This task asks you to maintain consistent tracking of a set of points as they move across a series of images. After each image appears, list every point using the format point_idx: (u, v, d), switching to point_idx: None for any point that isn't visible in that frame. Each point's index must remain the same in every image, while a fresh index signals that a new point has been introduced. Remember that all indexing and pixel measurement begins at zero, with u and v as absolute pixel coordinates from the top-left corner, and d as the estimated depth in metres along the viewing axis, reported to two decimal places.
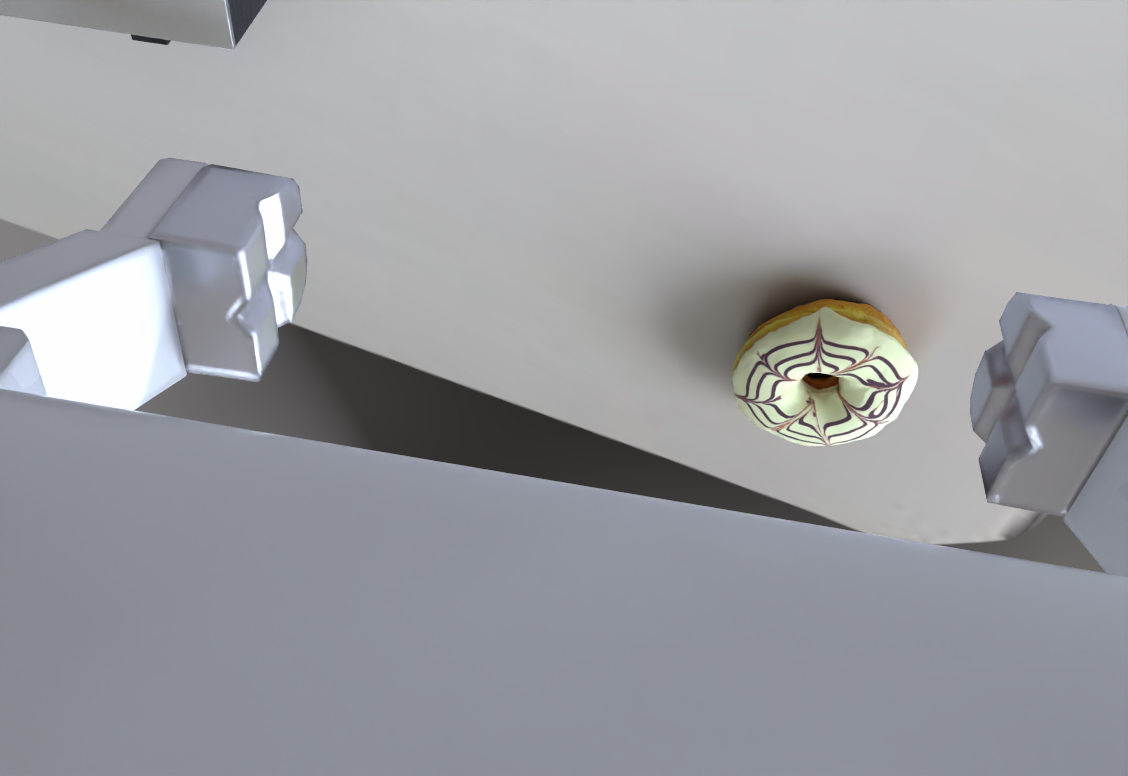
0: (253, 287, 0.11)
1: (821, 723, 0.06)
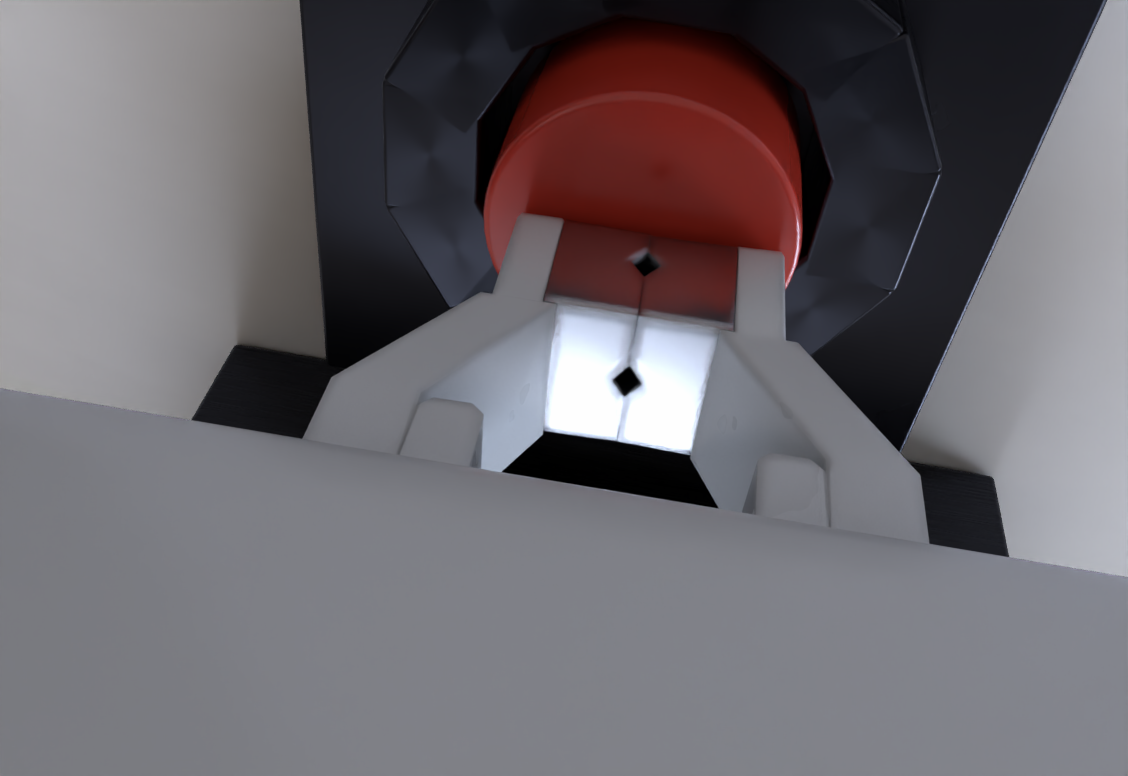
0: (632, 348, 0.11)
1: (822, 724, 0.06)
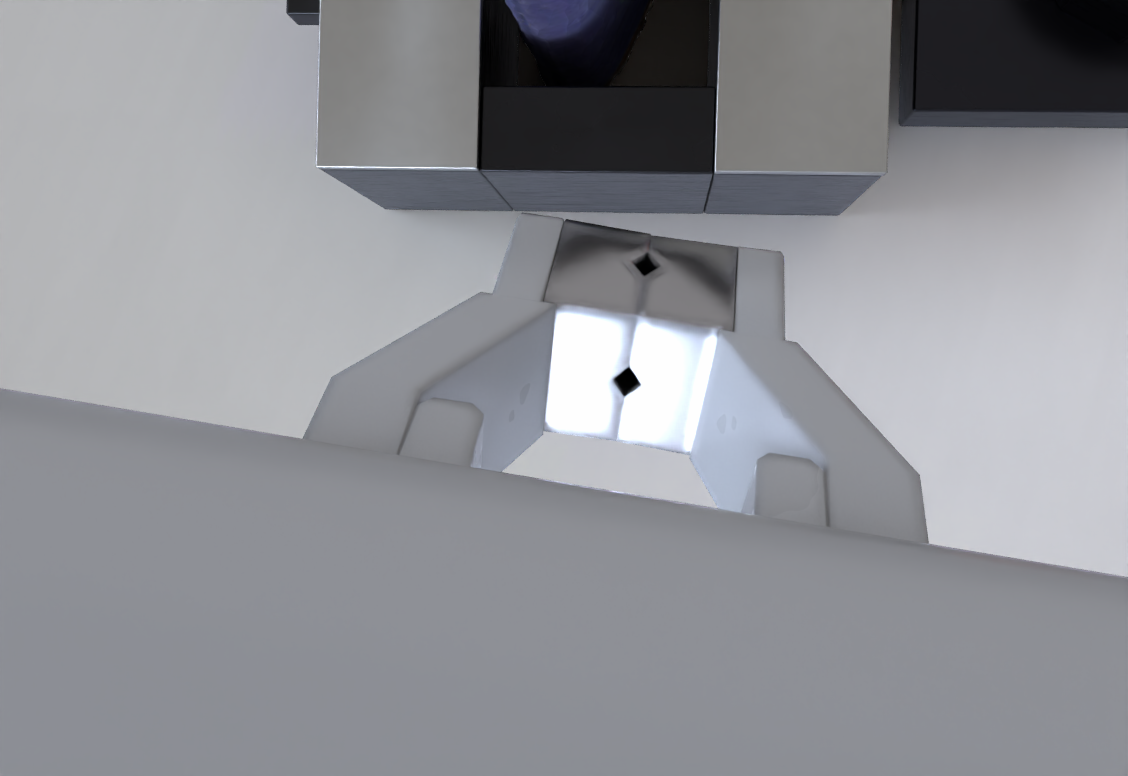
0: None
1: (821, 722, 0.06)
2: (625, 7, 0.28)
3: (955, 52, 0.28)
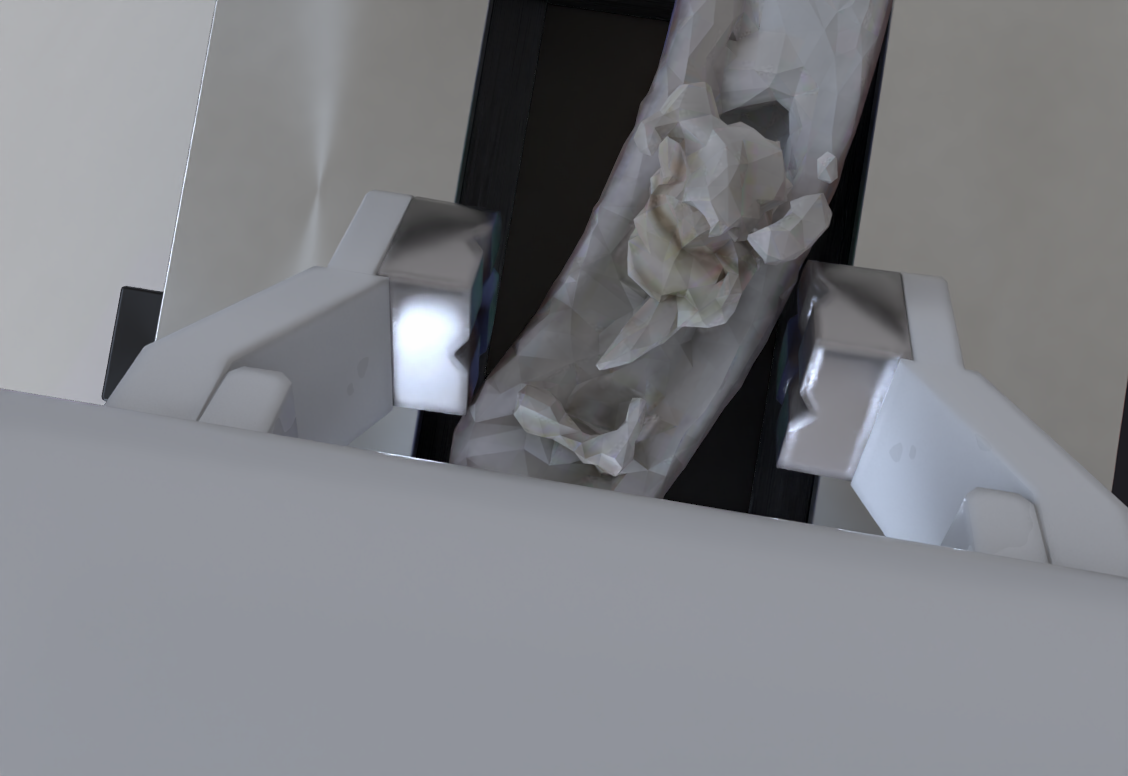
0: (472, 322, 0.11)
1: (821, 722, 0.06)
2: None
3: None
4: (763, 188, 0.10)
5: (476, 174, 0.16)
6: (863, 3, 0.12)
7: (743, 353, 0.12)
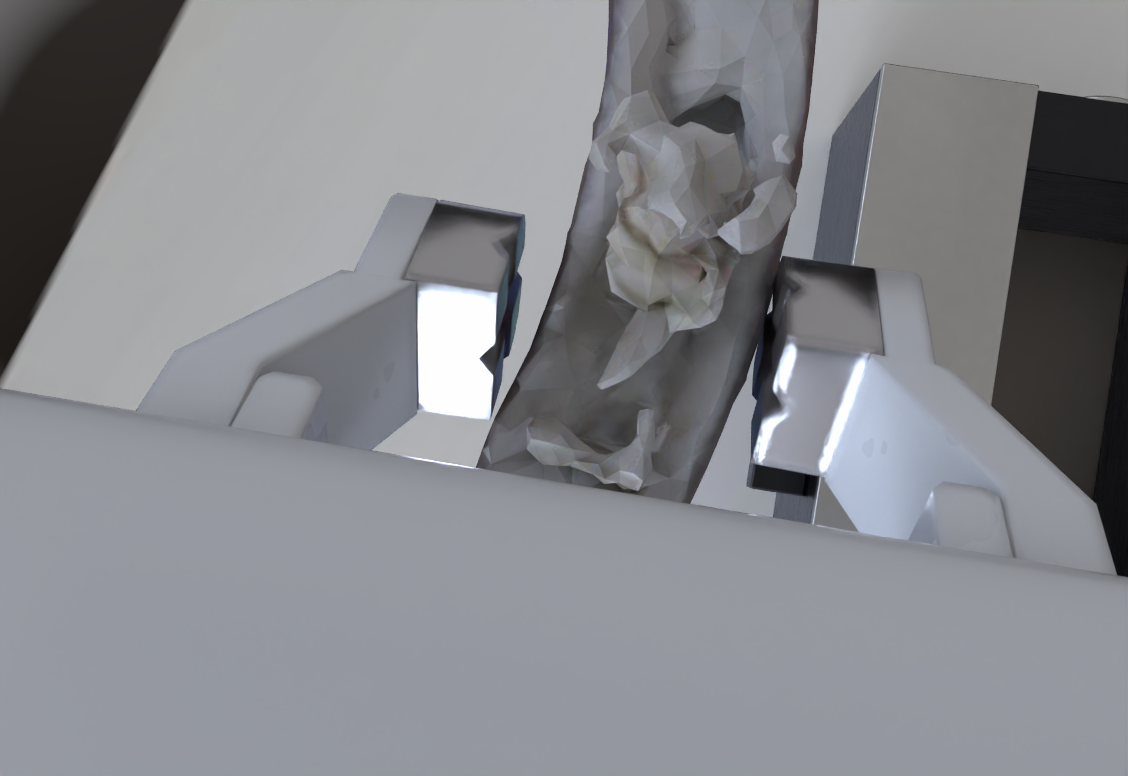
0: (498, 326, 0.11)
1: (820, 722, 0.06)
2: None
3: None
4: (724, 181, 0.10)
5: None
6: None
7: (739, 346, 0.12)
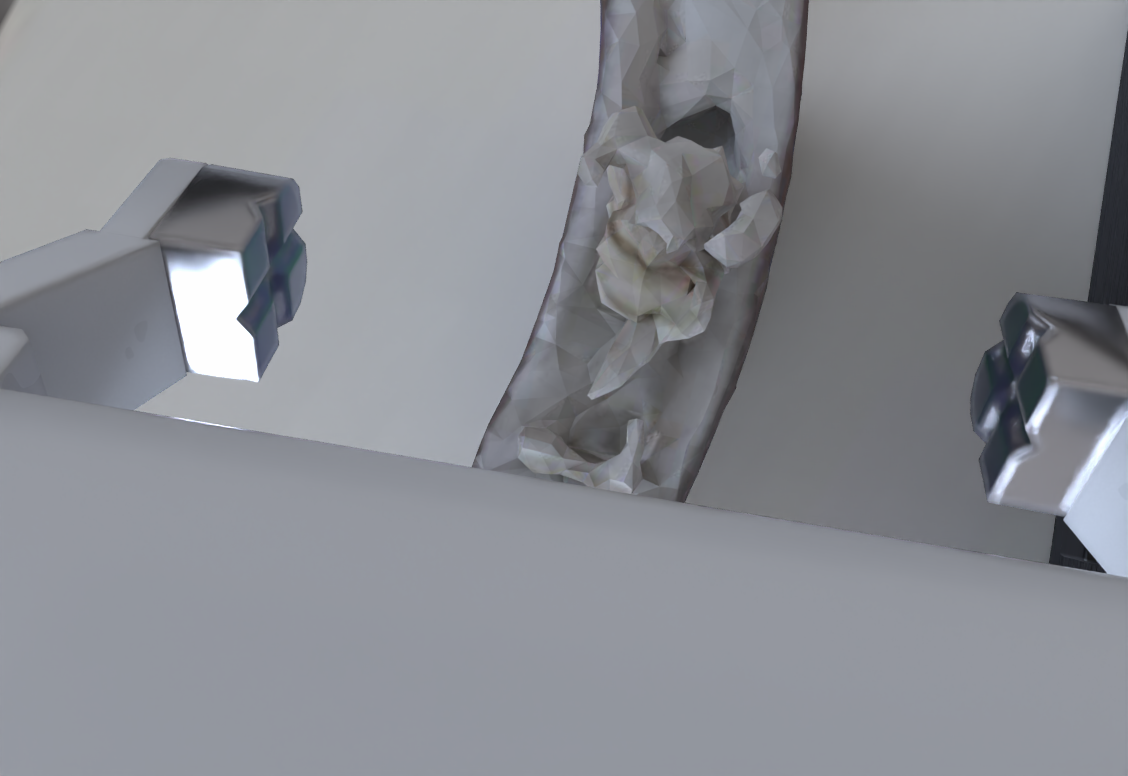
0: (253, 287, 0.11)
1: (820, 723, 0.06)
2: None
3: None
4: (711, 196, 0.11)
5: None
6: None
7: (729, 355, 0.12)
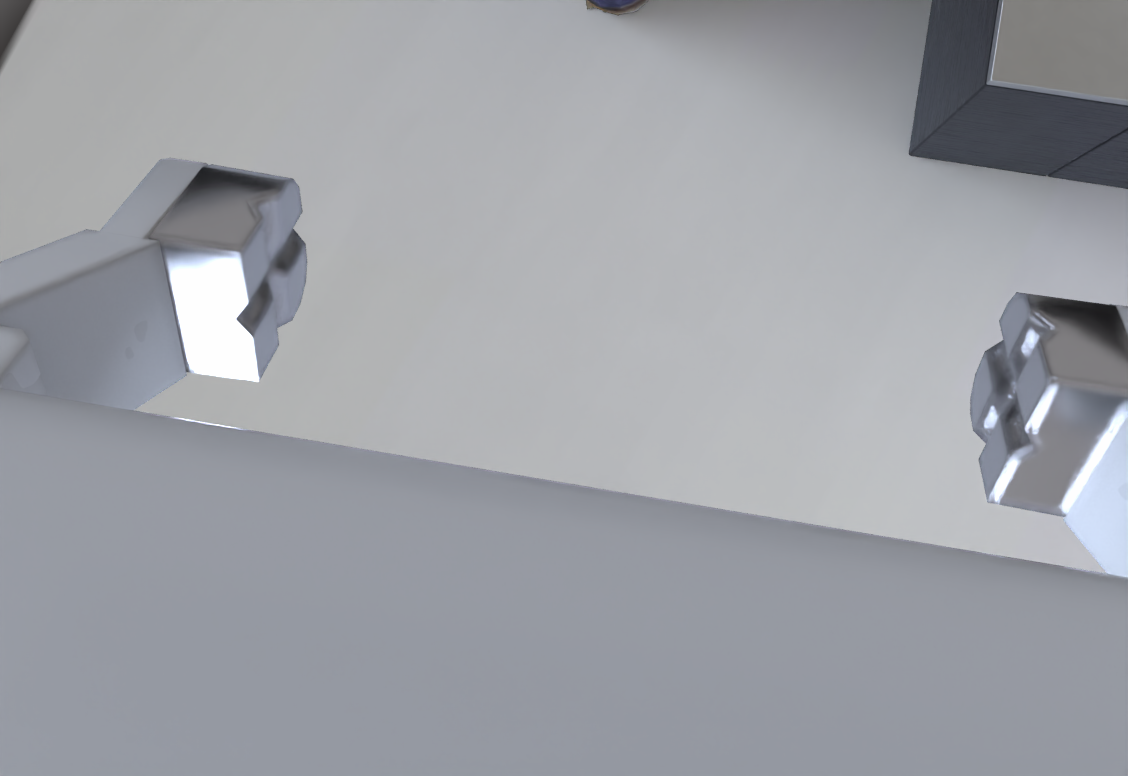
0: (253, 287, 0.11)
1: (821, 722, 0.06)
2: None
3: None
4: None
5: None
6: None
7: None
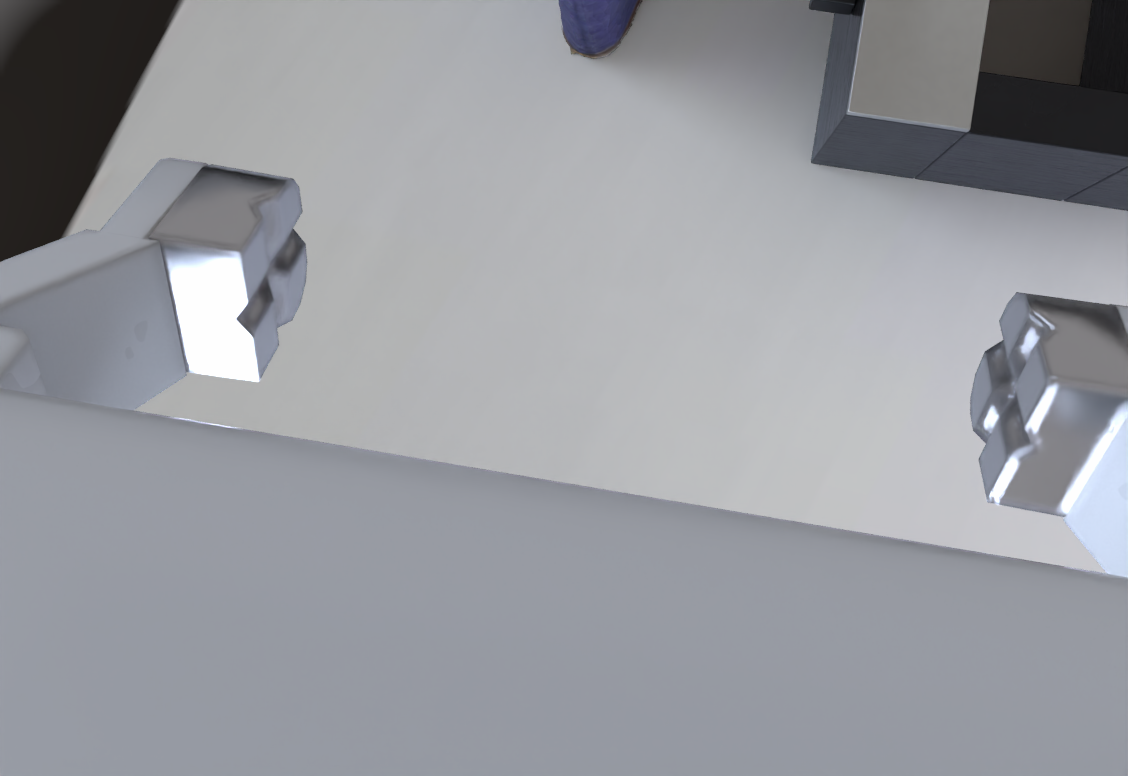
0: (253, 287, 0.11)
1: (820, 724, 0.06)
2: None
3: None
4: None
5: None
6: None
7: None
